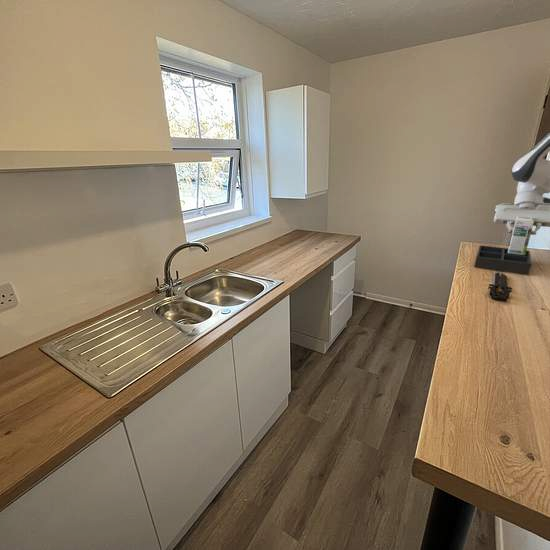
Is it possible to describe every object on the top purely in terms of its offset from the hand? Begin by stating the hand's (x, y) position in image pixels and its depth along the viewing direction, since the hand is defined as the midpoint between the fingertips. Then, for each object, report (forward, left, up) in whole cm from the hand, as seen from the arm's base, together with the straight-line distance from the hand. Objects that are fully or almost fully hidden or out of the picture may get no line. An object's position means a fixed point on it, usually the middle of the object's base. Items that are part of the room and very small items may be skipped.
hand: (521, 233), depth 119 cm
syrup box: (0, -1, -9) cm, 9 cm away
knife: (+12, +26, -13) cm, 32 cm away
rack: (+5, +2, -13) cm, 14 cm away
